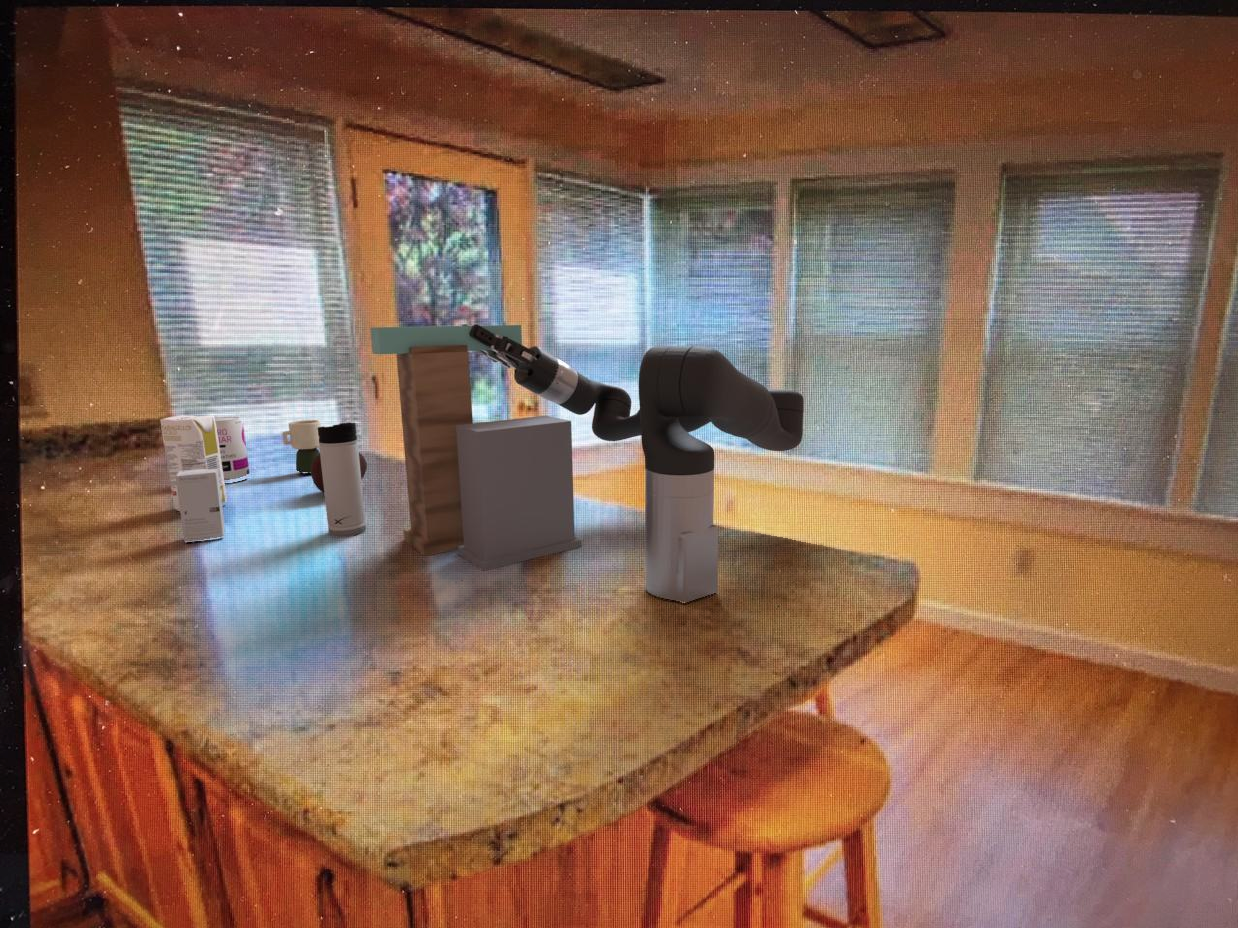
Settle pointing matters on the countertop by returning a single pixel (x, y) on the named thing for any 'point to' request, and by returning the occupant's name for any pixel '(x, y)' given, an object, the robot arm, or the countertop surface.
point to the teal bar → (434, 337)
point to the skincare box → (200, 504)
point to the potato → (317, 471)
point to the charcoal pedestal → (516, 490)
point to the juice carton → (191, 448)
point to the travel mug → (342, 479)
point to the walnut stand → (434, 442)
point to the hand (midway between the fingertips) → (466, 329)
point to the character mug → (303, 442)
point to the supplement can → (232, 447)
